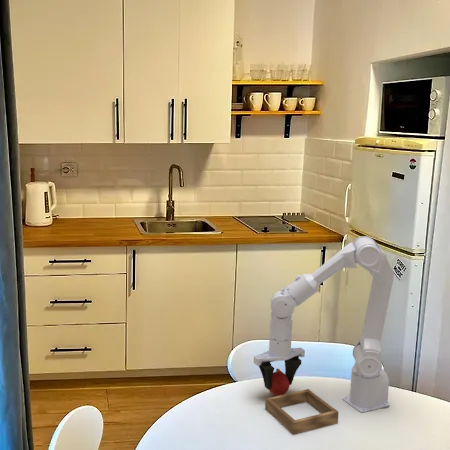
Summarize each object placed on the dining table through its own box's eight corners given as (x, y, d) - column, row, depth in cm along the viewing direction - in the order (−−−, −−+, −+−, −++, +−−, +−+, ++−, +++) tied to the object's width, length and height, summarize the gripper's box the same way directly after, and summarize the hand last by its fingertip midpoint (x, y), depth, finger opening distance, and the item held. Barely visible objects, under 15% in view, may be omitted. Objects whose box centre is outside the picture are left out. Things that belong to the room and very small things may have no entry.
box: (307, 399, 155) (308, 389, 155) (337, 423, 144) (338, 411, 143) (265, 409, 150) (265, 398, 149) (293, 434, 138) (293, 423, 138)
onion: (286, 391, 159) (288, 364, 158) (289, 402, 154) (291, 373, 152) (265, 391, 159) (266, 364, 158) (267, 402, 154) (269, 373, 152)
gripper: (295, 328, 160) (292, 374, 163) (248, 335, 154) (246, 384, 156) (310, 337, 154) (307, 385, 156) (262, 345, 147) (260, 395, 150)
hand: (278, 385), depth 156 cm, fingers closed on onion, 6 cm apart
